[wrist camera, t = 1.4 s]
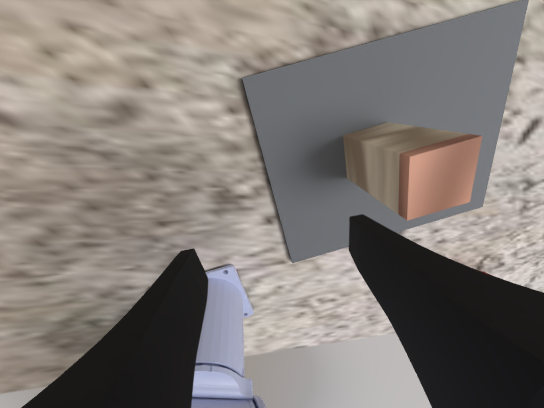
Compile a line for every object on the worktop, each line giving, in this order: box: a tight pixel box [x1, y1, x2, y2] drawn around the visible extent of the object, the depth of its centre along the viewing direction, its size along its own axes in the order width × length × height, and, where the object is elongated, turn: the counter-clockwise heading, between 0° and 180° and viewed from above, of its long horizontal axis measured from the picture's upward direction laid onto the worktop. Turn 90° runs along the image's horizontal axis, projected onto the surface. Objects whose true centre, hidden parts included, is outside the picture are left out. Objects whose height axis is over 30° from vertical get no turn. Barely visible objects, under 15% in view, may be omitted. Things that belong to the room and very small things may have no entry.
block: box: [343, 122, 482, 221], centre depth 16 cm, size 4×4×8 cm
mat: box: [242, 0, 529, 263], centre depth 20 cm, size 22×18×1 cm
